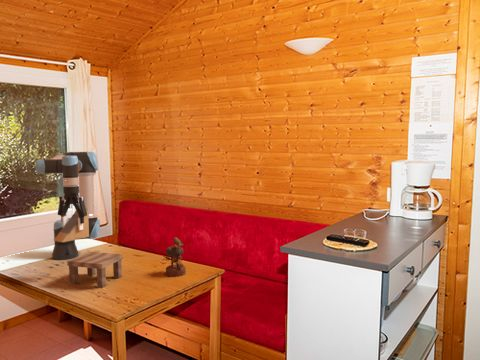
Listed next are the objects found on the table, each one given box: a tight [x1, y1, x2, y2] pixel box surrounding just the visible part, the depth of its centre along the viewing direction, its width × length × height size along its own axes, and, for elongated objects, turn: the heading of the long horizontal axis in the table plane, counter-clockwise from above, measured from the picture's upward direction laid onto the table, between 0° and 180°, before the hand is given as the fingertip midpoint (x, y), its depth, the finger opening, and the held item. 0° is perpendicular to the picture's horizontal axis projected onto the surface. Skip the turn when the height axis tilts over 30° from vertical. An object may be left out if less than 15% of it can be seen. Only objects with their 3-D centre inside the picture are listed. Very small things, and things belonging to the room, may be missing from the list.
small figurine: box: [163, 237, 187, 278], centre depth 223 cm, size 15×11×20 cm
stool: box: [66, 251, 124, 289], centre depth 214 cm, size 20×18×12 cm
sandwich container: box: [53, 208, 89, 242], centre depth 214 cm, size 9×15×15 cm, turn 144°
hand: (73, 229), depth 215 cm, fingers closed on sandwich container, 9 cm apart
